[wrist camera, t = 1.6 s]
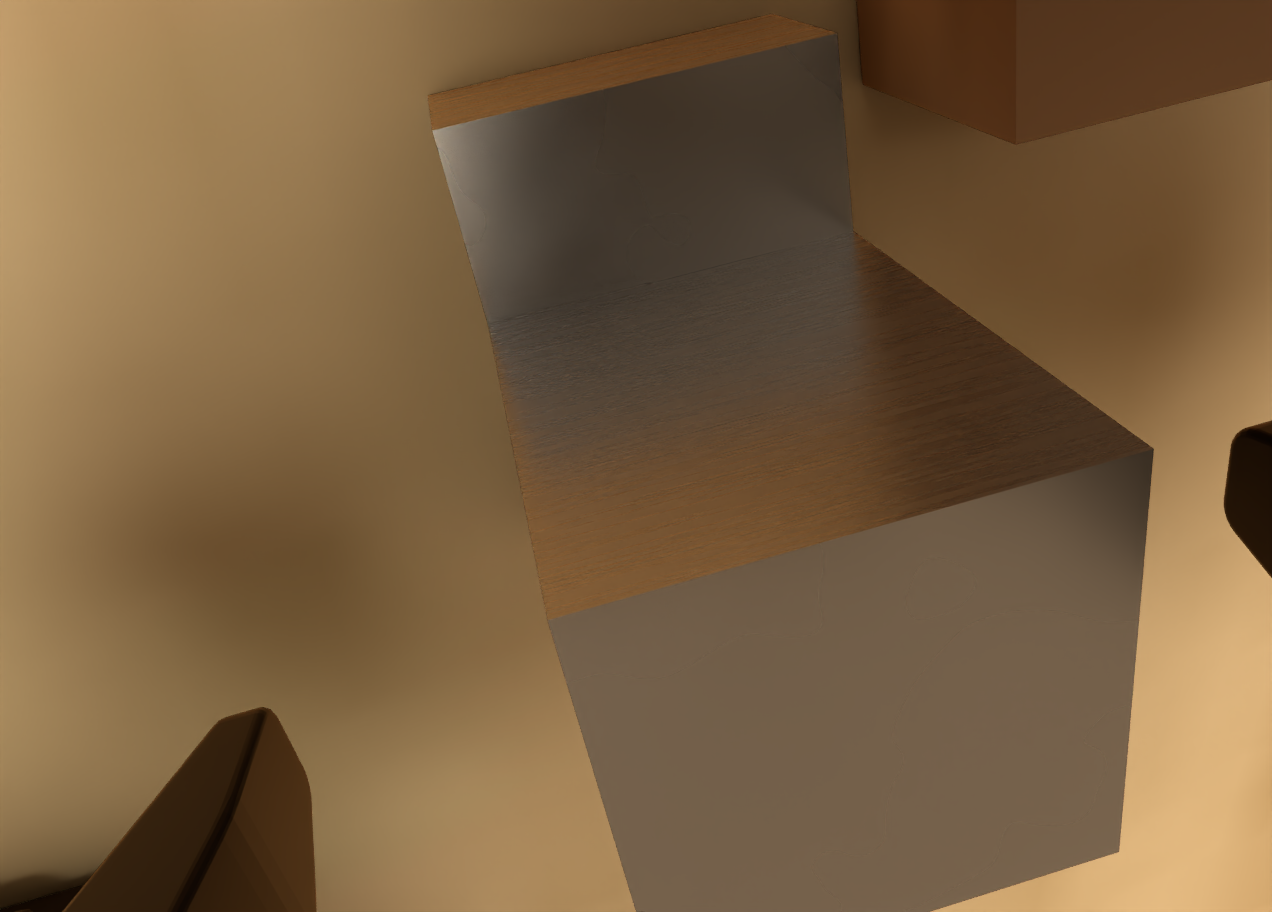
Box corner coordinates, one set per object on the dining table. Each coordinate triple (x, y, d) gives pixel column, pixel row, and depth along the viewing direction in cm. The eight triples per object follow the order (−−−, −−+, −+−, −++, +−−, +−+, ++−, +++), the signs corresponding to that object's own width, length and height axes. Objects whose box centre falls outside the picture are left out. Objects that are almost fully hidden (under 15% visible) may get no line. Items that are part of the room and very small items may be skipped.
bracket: (821, 458, 14) (1117, 852, 8) (551, 532, 14) (663, 995, 8) (772, 13, 11) (1181, 135, 5) (426, 94, 11) (454, 322, 5)
